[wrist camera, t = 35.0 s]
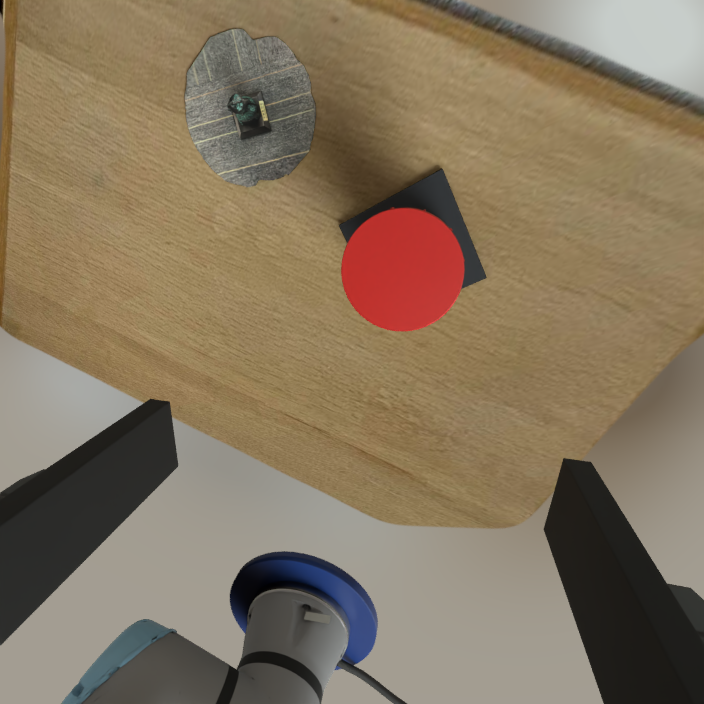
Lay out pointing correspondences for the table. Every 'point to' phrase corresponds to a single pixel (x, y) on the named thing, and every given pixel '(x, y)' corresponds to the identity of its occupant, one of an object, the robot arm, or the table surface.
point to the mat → (434, 200)
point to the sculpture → (249, 107)
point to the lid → (402, 269)
